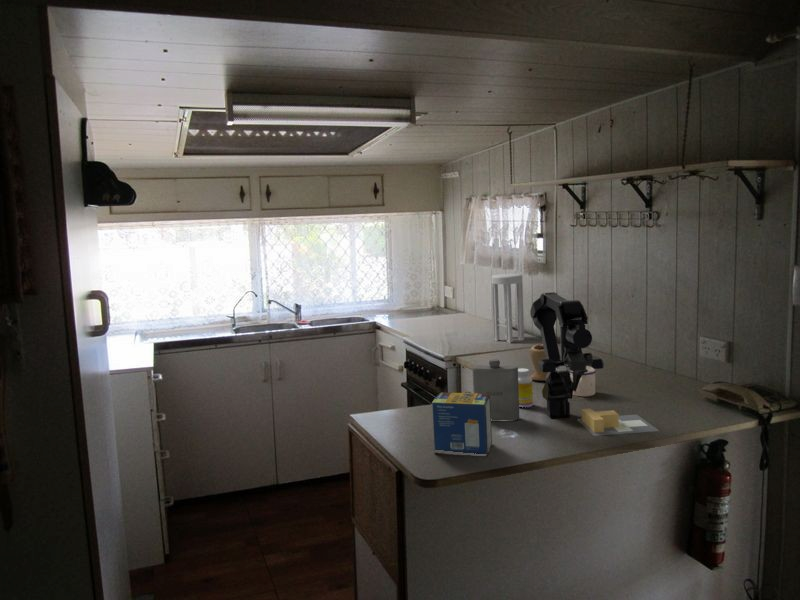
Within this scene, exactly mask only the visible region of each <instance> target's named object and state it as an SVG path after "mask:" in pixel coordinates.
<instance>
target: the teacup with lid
mask: <svg viewBox="0 0 800 600" xmlns="http://www.w3.org/2000/svg"><path fill="white" fill-rule="evenodd" d="M586 369H587V370H588V372H585V373H584V374H583V375H582V376H581V378H580V381H579V384H578V387H577V389H576V391H574V390H573V396H575V397H576V396H577V397H591V396H594V395H595V394H596V369H594V368H592V367H591V366H587V367H586ZM569 372H570V378H571V381H572V382H573V371H571V370H570V369H569Z"/></svg>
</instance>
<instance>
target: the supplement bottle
mask: <svg viewBox="0 0 800 600" xmlns="http://www.w3.org/2000/svg"><path fill="white" fill-rule="evenodd" d="M518 386H519V407H522V408H521V409H524V408H523V407H525V409H526V407H527V408H531V407H532V406H533V405H534V397H533V395H534V394H533V380H532V378H531V377H530V370H529V369H528V368H518Z"/></svg>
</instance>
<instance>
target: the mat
mask: <svg viewBox="0 0 800 600" xmlns="http://www.w3.org/2000/svg"><path fill="white" fill-rule="evenodd" d="M576 420H577V422H578V423H580V425H582V426H583V427H584V428H585V429H586V431H588V432H589V433H590V434H591V435H592V436H593V437H596V436H597V437H598V436H610V435H611V436H612V435H625V434H637V433H638V434H639V433H653V432H660V430H659V429H658V428H656V427H655V426H653V424H651V423H649V422H647V420H645V419H643V418H642V417H641V416H639V415H638V414H627V415H626V414H625V415H619V427H609V428H604V432H597V433H594V432H593V431H592V430H591V429H590V428H589V427H588V426H586V425H585V424H584V423H583V422H582V418H576Z"/></svg>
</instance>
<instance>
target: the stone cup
mask: <svg viewBox="0 0 800 600" xmlns="http://www.w3.org/2000/svg"><path fill="white" fill-rule="evenodd" d="M529 354H530V360H531V362H532V364H533V367H534V371H535V372H533V373H531V375H529V377H531V378H532V381H533V380H534V381H542V382H543V381H545V379H546V376H547V374H548V372H542V371H541V370H540V369H539V368H538V363H539V361H540V360H543V359H546V356H545V351H544V347H543V343H537V344H535V345H533V346H531V348H530V350H529ZM569 373H570V374H571V372H570V371H569Z"/></svg>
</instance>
